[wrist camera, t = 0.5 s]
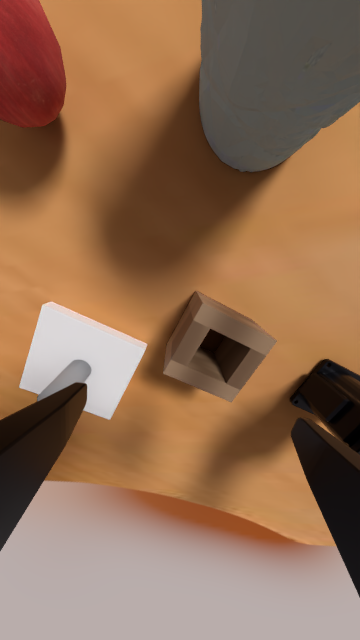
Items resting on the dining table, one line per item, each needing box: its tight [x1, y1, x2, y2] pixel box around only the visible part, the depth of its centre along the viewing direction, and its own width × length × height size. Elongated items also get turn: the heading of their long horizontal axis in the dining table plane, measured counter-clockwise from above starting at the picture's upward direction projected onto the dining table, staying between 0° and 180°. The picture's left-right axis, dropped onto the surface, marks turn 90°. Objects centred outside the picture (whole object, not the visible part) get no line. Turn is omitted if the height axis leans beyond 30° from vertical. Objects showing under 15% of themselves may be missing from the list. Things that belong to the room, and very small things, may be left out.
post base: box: [19, 301, 147, 420], centre depth 17 cm, size 10×10×6 cm
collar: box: [163, 291, 277, 402], centre depth 17 cm, size 6×6×5 cm
